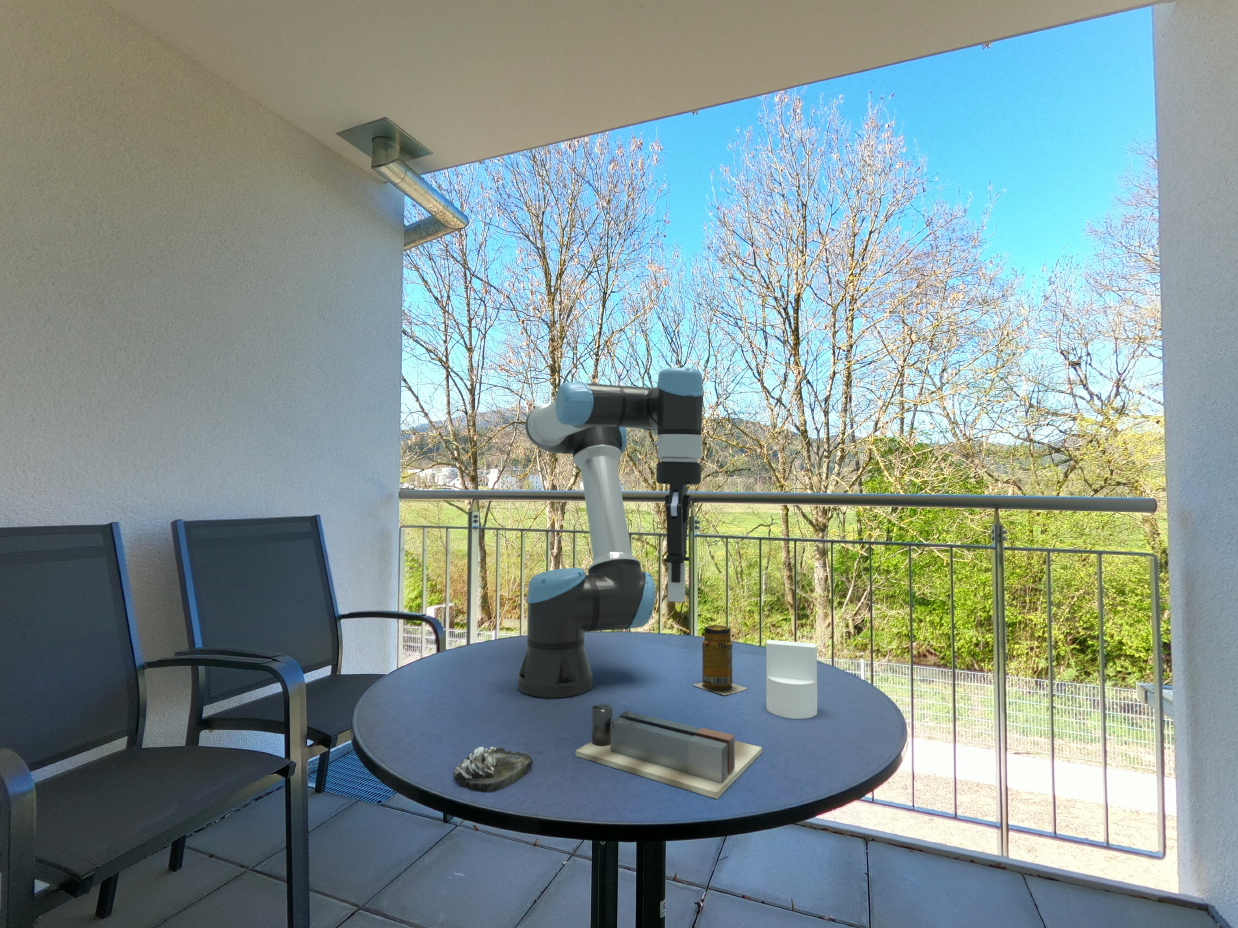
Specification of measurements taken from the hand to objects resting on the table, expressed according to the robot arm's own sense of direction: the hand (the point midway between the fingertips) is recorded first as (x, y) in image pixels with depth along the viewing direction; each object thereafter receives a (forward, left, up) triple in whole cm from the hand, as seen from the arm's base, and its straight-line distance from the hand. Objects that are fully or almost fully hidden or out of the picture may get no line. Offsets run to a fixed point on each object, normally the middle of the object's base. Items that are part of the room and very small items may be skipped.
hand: (676, 600), depth 102 cm
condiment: (+1, +25, -22) cm, 33 cm away
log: (-19, -25, -22) cm, 38 cm away
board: (+2, -9, -22) cm, 23 cm away
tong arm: (+3, -12, -20) cm, 24 cm away
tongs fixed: (+1, -13, -21) cm, 24 cm away
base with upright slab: (+16, +18, -22) cm, 33 cm away
